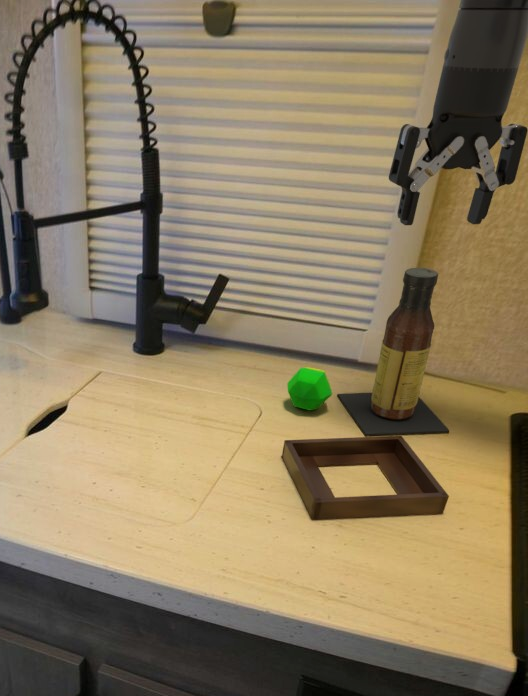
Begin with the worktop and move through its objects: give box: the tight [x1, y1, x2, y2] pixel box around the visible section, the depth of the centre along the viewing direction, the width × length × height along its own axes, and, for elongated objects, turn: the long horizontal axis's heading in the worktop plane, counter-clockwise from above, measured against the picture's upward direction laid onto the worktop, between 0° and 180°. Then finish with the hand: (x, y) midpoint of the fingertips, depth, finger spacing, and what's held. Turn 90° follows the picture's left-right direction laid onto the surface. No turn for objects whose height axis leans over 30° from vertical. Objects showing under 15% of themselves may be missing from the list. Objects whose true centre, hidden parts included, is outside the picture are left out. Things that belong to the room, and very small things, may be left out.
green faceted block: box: [286, 366, 333, 411], centre depth 97 cm, size 7×6×9 cm
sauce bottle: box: [371, 267, 439, 420], centre depth 90 cm, size 7×6×20 cm
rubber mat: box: [336, 392, 451, 437], centre depth 96 cm, size 12×12×1 cm
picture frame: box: [281, 435, 450, 521], centre depth 81 cm, size 16×14×2 cm
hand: (439, 223), depth 81 cm, fingers open, 8 cm apart
